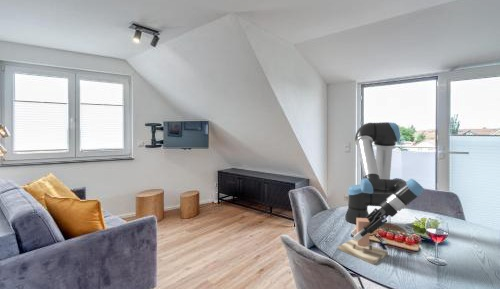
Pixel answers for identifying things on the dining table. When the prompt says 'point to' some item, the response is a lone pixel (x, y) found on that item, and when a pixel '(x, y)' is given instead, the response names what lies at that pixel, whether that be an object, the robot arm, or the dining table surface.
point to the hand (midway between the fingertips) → (354, 236)
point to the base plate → (363, 251)
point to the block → (359, 226)
